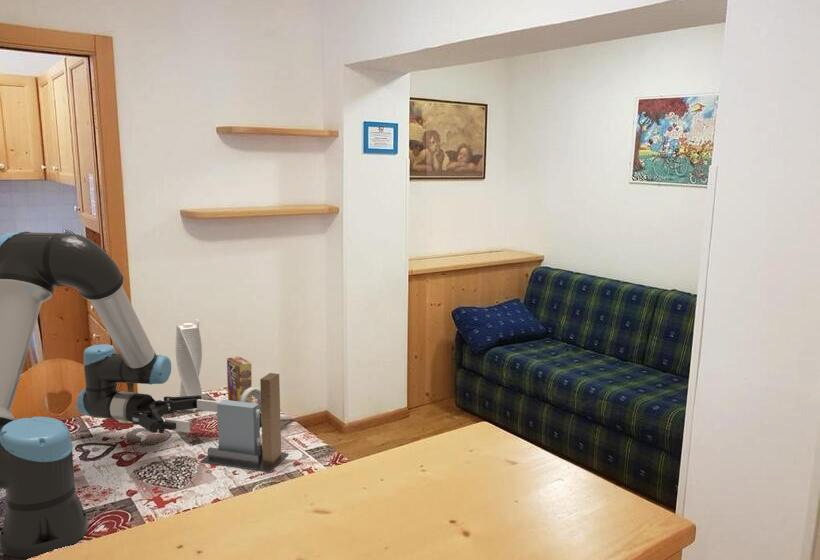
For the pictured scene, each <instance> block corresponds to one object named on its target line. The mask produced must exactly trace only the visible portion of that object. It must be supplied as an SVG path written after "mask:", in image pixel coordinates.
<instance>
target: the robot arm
mask: <svg viewBox="0 0 820 560" xmlns="http://www.w3.org/2000/svg"><path fill="white" fill-rule="evenodd" d="M124 283H125V279H124V276H123V274H122V271H121V270H120V268H119V266H118V265H117V263H116V262H115V260H114V259H113V258H112V257H111V256H110V255H109V254H108V253H107V252H106V250H105V249H103V248H102V247H101V246H99V245H98V244H97V243H96V242H95V241H93V240H92V239H90V238H87V237H85V236H83V235H81V234H77V233H73V232H62V233H61V232H31V231H27V230H25V231H18V232H17V231H16V232H8V233H5V234H3V235H0V489H2V490H5V494H6V504H7V505H6V506H7V509H6V513H5V517H4V521H3V527H2V529H1V531H0V549H1V551H2V553H4V554H5V555H6V556H9V557H11V558H17V559H31V558H30V557H33V556H38V555H40V554H43V553H46V552H49V551H52V550H54V549H58V548H62V547H65V546H69V545H71V546H72V544H73V545H74V544H76V543H77V542H78V541H80V540H81V539H82V538H83V537H84V536H86V533H87V532H88V529H89V520H88V515H87V512H86V511H85V509H84V508H83V507H84V506H83V505H82V503H81V500H80V499H79V497H78V495H77V493H76V484H75V471H74V457H73V449H74V447H73V446H74V445H73V442H72V439H71V438H72V437H71V432H70V429H69V428H68V426H67V424H66V423H64V422H63V421H61V420H60V419H57V418H53V417H48V416H32V417H31V418H30V417H22V418H18V419H16V418H15V417H14V415H13V414H12V412H11V409H12V407H13V403H14V399H15V396H16V392H17V389H18V386H19V382H20V379H21V375H22V372H23V368H24V366H25V361H26V358H27V356H28V355H27V354H28V352H29V348H30V345H31V342H32V338H33V334H34V331H35V327H36V324H37V321H38V318H39V314H40V310H41V306H42V304H43V303H45V302H46V301H49V300H50V299H52V296H53V293H54V290H55V288H56V286H57V287H59V286H61V287H62V286H63V287H65V286H67V287H72V288H74V289H76V290H78V292H79V294H80V295H81V297H83V298H84V299H85V300H88V301H90V303H91V305H92V307H93V308H94V311H95V312H96V314H97V315H98V317H99V319H100V321H101V323H102V324H103V326H104V328H105V330H106V332H107V334H108V335H109V337H110V339H111V341H112V342H113V344H114V346H115V347H114V346H113V345H111V344H106V343H105V344H104V343H103V344H95V345H91V346H89V347H86V348H85V349H84V351H83V370H84V380H85V388H83V389H81V391H80V392H79V393H78V395H77V398H78V399H77V400H76V409H77V411H78V412H79V413H80V414H81V415H83V416H88V417H91V418H95V419H96V418H97V419H107V420H108V419H109V420H114V421H115V420H116V421H117V420H122V421H124V422H127V421H130V422H133V423H132V424H133V425H139V426H140V427H142V428H143V429H146V430H147V431H149V432H150V433H152V434H156V433H157V432H158V433H159V434H163V433H165V431H166V430H167V431H174V432H181V433H190V432H191V424H190V420H186V419H184V420H183V419H176V418H171V417H166V418H163V417H164V415H169V414H170V415H171V414H174V412H178V411H180V410H187V409H194V408H197V410H198V411H204V412H212V413H217V403H219V402H220V401H216V400H210V399H209V400H208V399H203V400H202V398H201V395H197V396H181V397H180V396H164V397H163V400H162V399H159V400H155V399H154V398H153V396H152V395H150V394H146V393H139V392H128V391H123V390H118V383H119V384H127V383H134V384H138V385H139V384H144V385H162V384H166V382H168V380H169V379H170V376H171V375H172V373H171V372H172V362H171V358H169V357H168V356H167V355H163V354H157V353H156V352H155V349H154V348H153V345H152V344H151V342H150V340H149V337H148V336H147V334H146V331H145V329H144V327H143V325H142V323H141V321H140V319H139V317H138V315H137V314H136V311H135V309H134V307H133V305H132V303H131V301H130V299H129V297H128V295H127V293H126V291H125V289H124ZM115 348H116V349H117V351H118V353H117V352H116V350H115ZM180 412H181V411H180ZM69 547H70V546H69ZM33 558H34V557H33Z"/></svg>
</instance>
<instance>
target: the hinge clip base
mask: <svg viewBox="0 0 820 560" xmlns="http://www.w3.org/2000/svg"><path fill="white" fill-rule="evenodd" d="M259 380H260V381H259V382H260V383H259V385H260V389H261V405H260V406H261V423H262V427H261V446H260V453H261V456H260V454H254V453H247V452H240V451H232V450H225V449H219V446H217V448H216V447H211V446H210V447H208V448H207V456H205V457H204V458H202V459H201V460H200V463H203V464H208V465H215V466H216V465H219V466H223V467H231V468H238V469H244V470H250V471H251V470H252V471H258V472H263V473H264V472H266V473H271V472H272V471H273V470H274V469H275V468H277V466H278V465H279V464H280V463H282V462H283V461H284V460H285V458H287V457H288V456H289V453H287V452H282V440H281V439H282V436H281V435H282V433H281V429H282V428H281V393H280V391H281V389H280V373H273V372H269V373H267V374H266V375H264V376H263V377H262V378H260V379H259Z"/></svg>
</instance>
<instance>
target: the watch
mask: <svg viewBox="0 0 820 560" xmlns="http://www.w3.org/2000/svg"><path fill="white" fill-rule="evenodd" d="M251 392H252V397H254V399H256V400H257V401H258V404H259V409H260V418H259V420H260V428H262V423H261V387H258V386H254V387H253V386H252V387H250V388H247V389H246V390H245V391H244V392H243V393H242V395H241V398H240V402H246V398H247V396H248V395H249V394H250V393H251Z"/></svg>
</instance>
